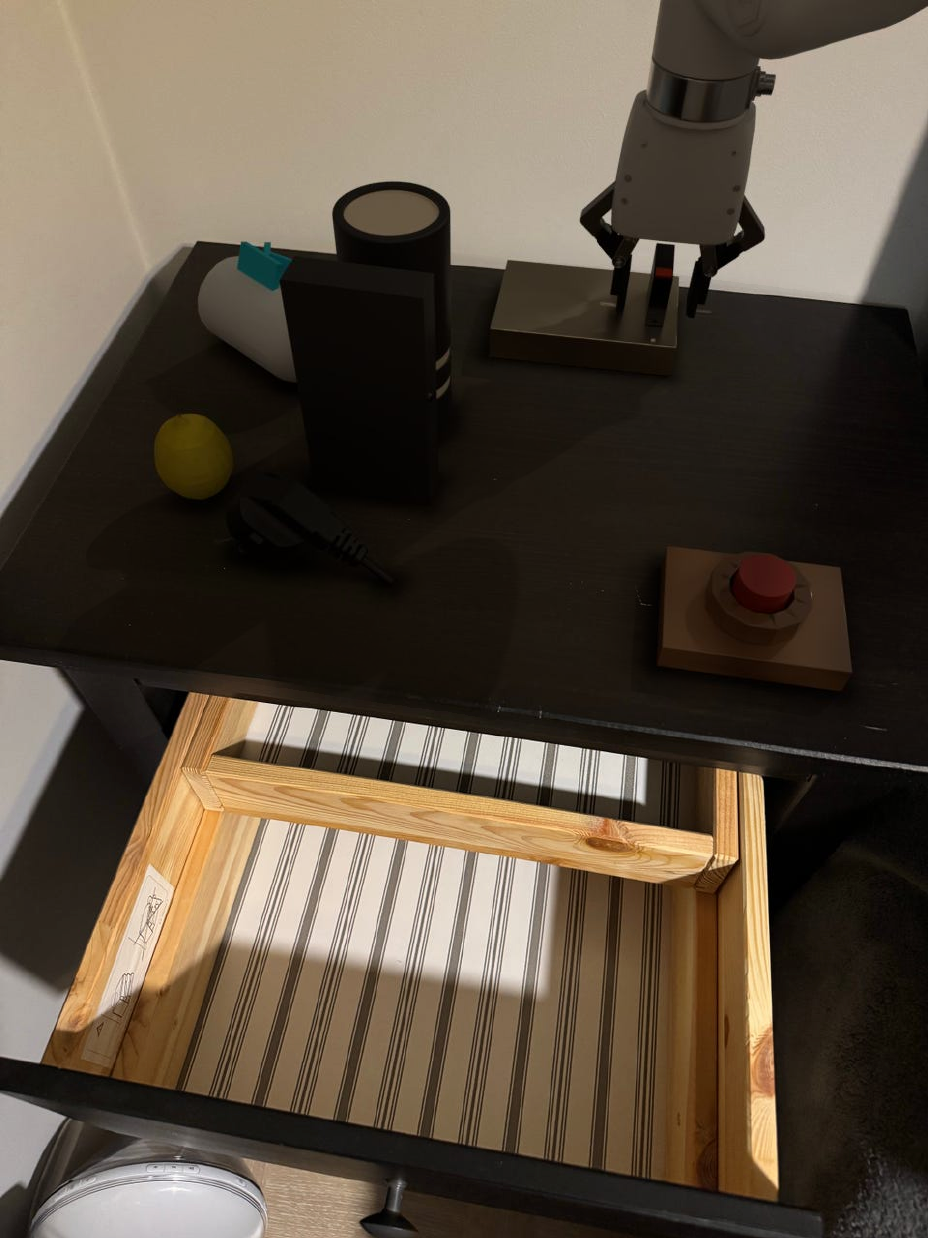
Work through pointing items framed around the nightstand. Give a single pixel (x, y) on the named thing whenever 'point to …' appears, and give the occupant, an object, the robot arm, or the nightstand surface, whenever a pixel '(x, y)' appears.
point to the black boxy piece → (660, 284)
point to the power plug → (291, 523)
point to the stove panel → (581, 320)
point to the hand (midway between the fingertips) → (655, 303)
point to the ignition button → (763, 583)
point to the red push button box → (751, 623)
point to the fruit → (193, 456)
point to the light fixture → (376, 343)
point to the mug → (250, 307)
